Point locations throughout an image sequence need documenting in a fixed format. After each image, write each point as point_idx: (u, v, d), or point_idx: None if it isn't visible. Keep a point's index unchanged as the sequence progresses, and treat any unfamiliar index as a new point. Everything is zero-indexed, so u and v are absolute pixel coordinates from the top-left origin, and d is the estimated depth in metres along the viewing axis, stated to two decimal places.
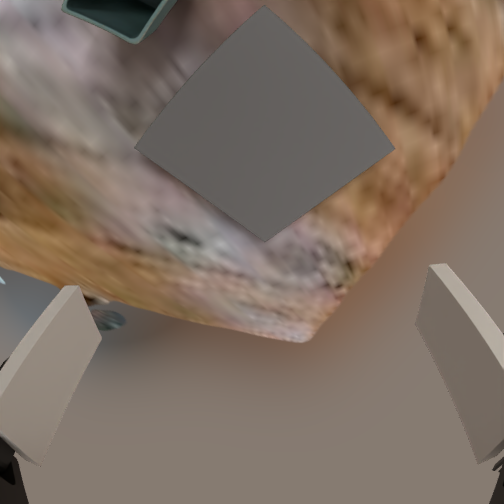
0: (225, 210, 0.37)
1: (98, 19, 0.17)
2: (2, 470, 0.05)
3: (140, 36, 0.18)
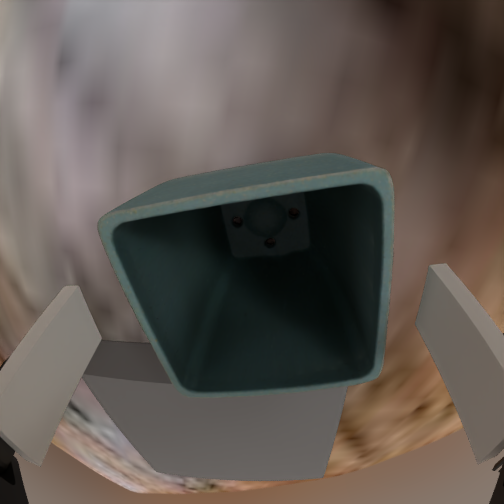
0: (138, 449, 0.26)
1: (152, 306, 0.11)
2: (2, 470, 0.05)
3: (198, 395, 0.12)
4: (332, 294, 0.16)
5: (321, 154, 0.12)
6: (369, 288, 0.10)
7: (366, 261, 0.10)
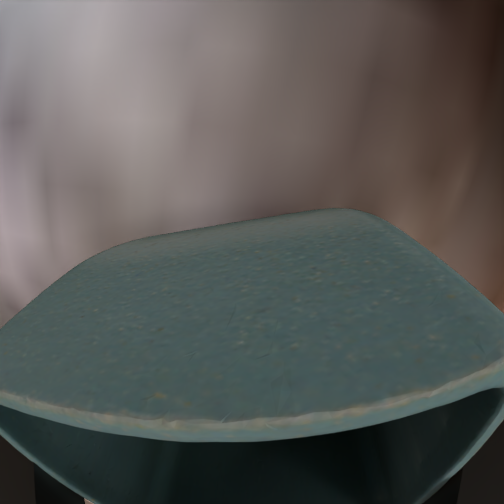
0: None
1: (79, 463, 0.05)
2: None
3: None
4: None
5: (353, 222, 0.06)
6: (413, 454, 0.05)
7: (417, 423, 0.05)
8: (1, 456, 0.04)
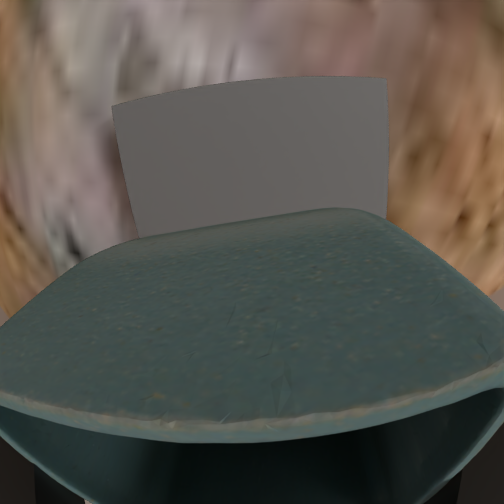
0: None
1: (78, 463, 0.05)
2: None
3: None
4: None
5: (353, 221, 0.06)
6: (414, 455, 0.05)
7: (418, 423, 0.05)
8: (1, 456, 0.04)
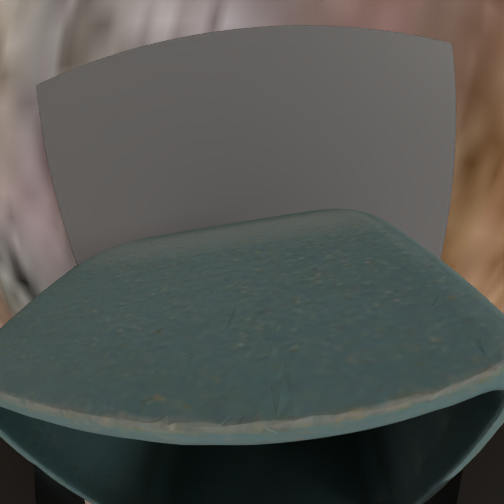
0: None
1: (78, 464, 0.05)
2: None
3: None
4: None
5: (353, 222, 0.06)
6: (413, 455, 0.05)
7: (418, 424, 0.05)
8: (1, 456, 0.04)
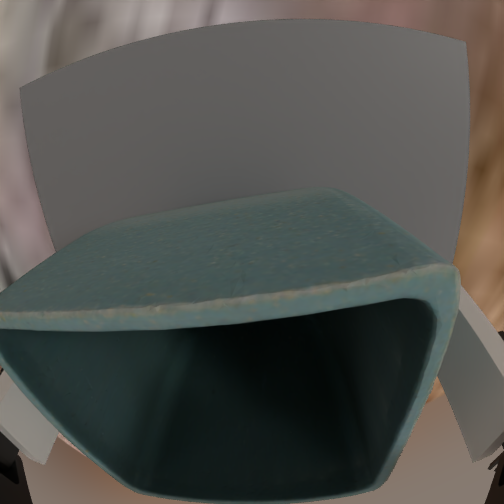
0: None
1: (76, 412, 0.07)
2: (6, 469, 0.05)
3: (153, 495, 0.08)
4: (326, 368, 0.12)
5: (318, 193, 0.07)
6: (381, 406, 0.06)
7: (381, 372, 0.06)
8: None
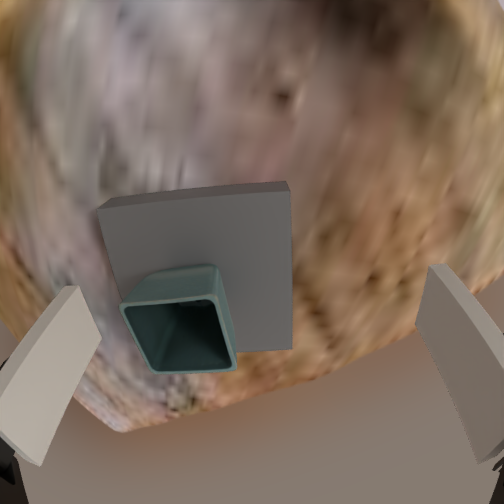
0: None
1: (139, 334, 0.26)
2: (2, 470, 0.05)
3: (159, 372, 0.28)
4: None
5: (207, 271, 0.27)
6: None
7: None
8: None
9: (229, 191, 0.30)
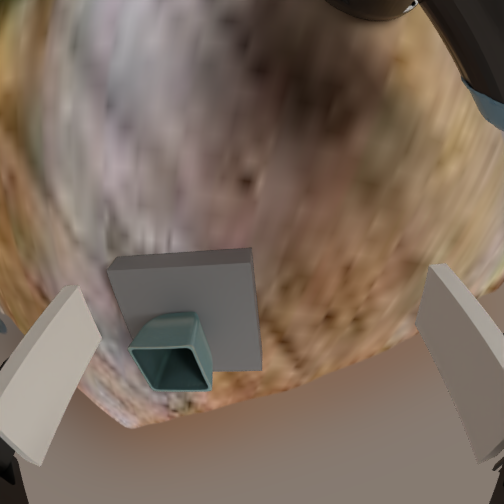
0: None
1: (143, 364, 0.37)
2: (2, 470, 0.05)
3: (158, 390, 0.38)
4: None
5: (189, 323, 0.37)
6: None
7: None
8: None
9: (205, 260, 0.40)
